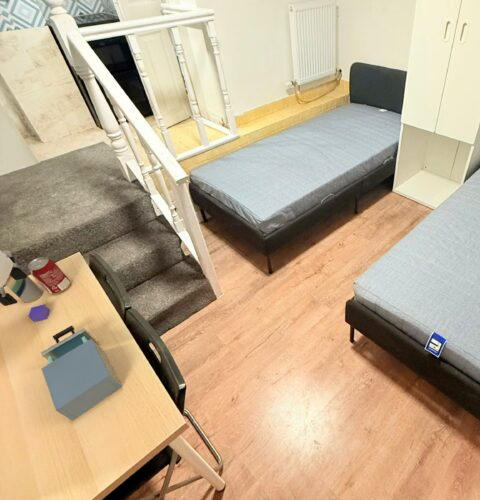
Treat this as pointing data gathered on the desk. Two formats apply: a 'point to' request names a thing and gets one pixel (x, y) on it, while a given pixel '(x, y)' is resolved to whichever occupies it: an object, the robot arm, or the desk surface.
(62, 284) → the soda can
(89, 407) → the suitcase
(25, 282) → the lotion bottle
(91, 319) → the desk surface
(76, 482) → the desk surface
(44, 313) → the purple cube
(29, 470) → the desk surface
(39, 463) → the desk surface
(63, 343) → the drawer
